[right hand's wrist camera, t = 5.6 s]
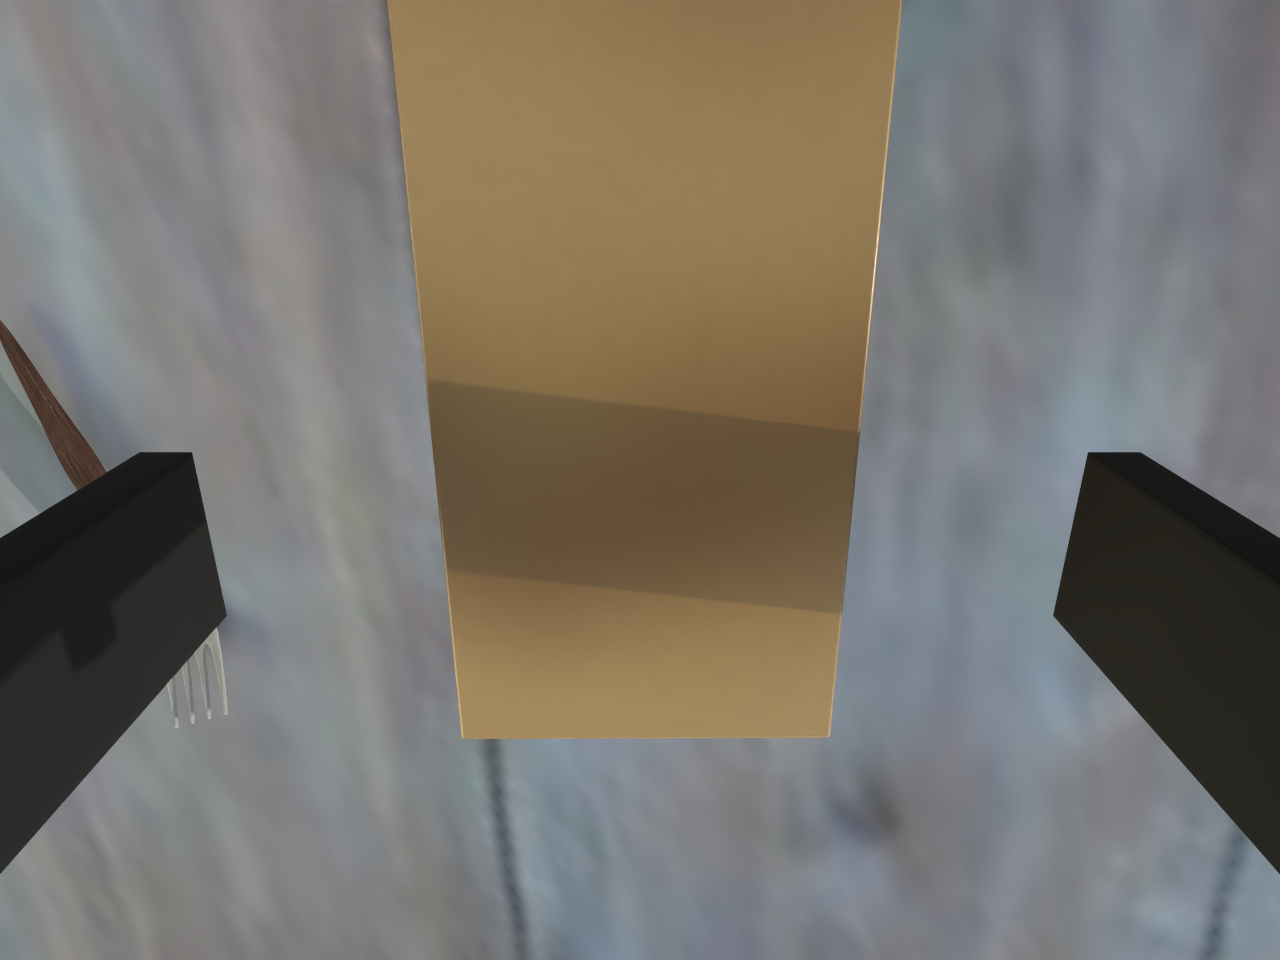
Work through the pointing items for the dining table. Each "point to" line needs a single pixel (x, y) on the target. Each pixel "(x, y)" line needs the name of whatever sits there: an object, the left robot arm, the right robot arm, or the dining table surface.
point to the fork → (83, 471)
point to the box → (645, 348)
